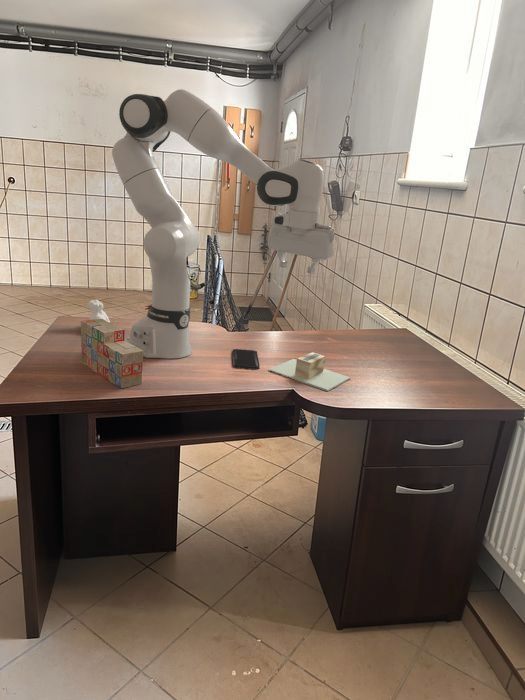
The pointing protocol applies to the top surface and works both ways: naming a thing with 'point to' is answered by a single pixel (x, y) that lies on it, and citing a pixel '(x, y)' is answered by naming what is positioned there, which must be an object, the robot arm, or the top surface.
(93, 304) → the bust
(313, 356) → the maple block
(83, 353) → the stack of blocks
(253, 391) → the top surface
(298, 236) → the robot arm
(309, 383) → the rubber mat
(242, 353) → the phone
